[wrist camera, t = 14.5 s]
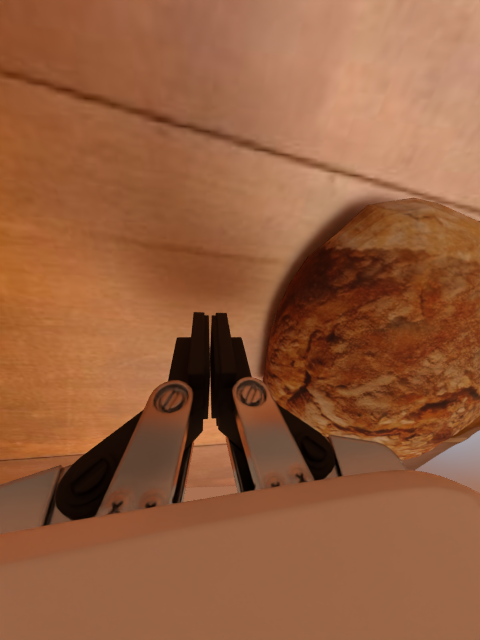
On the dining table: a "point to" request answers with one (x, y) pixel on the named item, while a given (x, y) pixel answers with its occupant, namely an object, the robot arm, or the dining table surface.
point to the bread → (384, 329)
